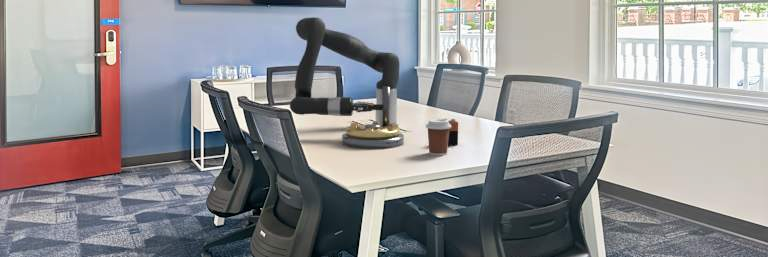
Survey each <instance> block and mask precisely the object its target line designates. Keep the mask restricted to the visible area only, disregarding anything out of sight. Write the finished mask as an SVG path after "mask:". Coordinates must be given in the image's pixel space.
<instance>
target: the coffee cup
mask: <svg viewBox="0 0 768 257" xmlns="http://www.w3.org/2000/svg"><path fill="white" fill-rule="evenodd" d="M444 119H445V118H436V119H435V118H434V119H429V120H428V123H427V124H425V128H426V129H427V139H428V152H429V153H428V154H429V155H431V156H446V155H448V146H449V145H448V139H449V129H450V128H451V125H450V124H449V121H450V120H448V119H447V120H444Z"/></svg>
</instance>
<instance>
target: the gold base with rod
mask: <svg viewBox="0 0 768 257" xmlns="http://www.w3.org/2000/svg"><path fill="white" fill-rule="evenodd" d="M345 133H346V136H348V137H351V138H356V139H389V138H395V137H398V136H400V133H401V128H400V127H399V124H398V123H397V124H396V123H393V124H390V87H382V124H379V121H376V120H375V121H372V123H367V124H360V123H359V122H350V125H349V126H346V127H345Z"/></svg>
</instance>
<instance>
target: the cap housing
mask: <svg viewBox="0 0 768 257" xmlns="http://www.w3.org/2000/svg"><path fill="white" fill-rule="evenodd" d="M404 139H405V136H404V134H403V133H401V132H400V136H398V137H395V138H389V139H356V138H351V137H348V136H346V132H345V133H343V134H342V135H341V144H342V145H343V146H345V147H348V148H352V149H362V150H363V149H364V150H381V149H392V148H398V147H401V146H403V145H404V142H405V140H404Z"/></svg>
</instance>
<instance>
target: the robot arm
mask: <svg viewBox="0 0 768 257" xmlns="http://www.w3.org/2000/svg"><path fill="white" fill-rule="evenodd" d="M295 30H296V33H297V35H298V37H299V38H300V39H302V40H304V41H306V47H305V51H304V53H303V55H302V57H301V60H300V62H299V64H298V65H297V70H296V74H295V80H294V89H295V97H294V98H292V100H291V101H290V104H289V108H290V110H291V112H292V113H294V114H295V115H300V116H301V115H302V116H303V115H320V116H334V117H352V116H353V112H356V113H363V112H364V113H365V112H372V111H375V121H379V124H382V87H390V124H393V123H396V124H398V123H397V121H398V118H397V117H398V115H397V113H398V112H397V111H398V109H397V108H398V104H397V103H398V84H399V81H400V80H399V79H400V78H399V77H400V60H399V57H398V56H397V54H396V53H393V52H383V51H382V52H381V51H377V50H375V49H371V48H369V47H368V46H367V45H366V44H365V42H363V41H361V39H359V38H357V37H355V36H353V35H350V34H348V33H345V32H341V31H337V30H336V31H335V30H332V29H328V28H326V24H325V21H323V19H322V18H320V17H305V18H302V19H300V20H299V21H297V22H296V25H295ZM322 46H323V47H324V48H326V49H328V50H330V51H332V52H334V53H336V54H338V55H339V56H340V55H341V56H343V57H345V58H347V59H350V60H352V61H355V62H358V63H361V64H363V65H366V66H368V67H369V68H371V69H372V70H374V71H376V72H378V73H380V74H382V77H381V79H380V80H379V81H377V82H376V85H375V86H376V92H375V93H376V100H375V101H376V102H375V103H376V104H375V103H374V102H367V101H356V102H354V99H353V97H351V96H350V97H348V96H345V97H344V96H342V97H341V96H335V97H312V88H313V82H314V76H315V69H316V64H317V61H318V58H319V53H320V50H321V47H322Z"/></svg>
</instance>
